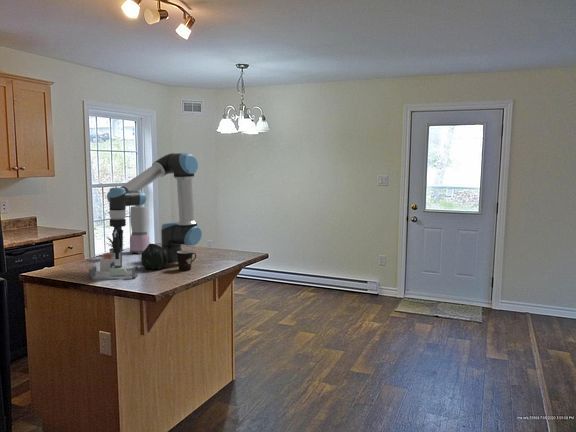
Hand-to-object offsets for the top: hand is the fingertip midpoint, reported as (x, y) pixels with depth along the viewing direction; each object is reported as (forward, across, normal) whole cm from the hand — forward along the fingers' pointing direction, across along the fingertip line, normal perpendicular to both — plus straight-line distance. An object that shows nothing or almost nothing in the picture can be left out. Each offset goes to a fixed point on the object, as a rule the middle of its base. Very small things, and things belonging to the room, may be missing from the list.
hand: (118, 264), depth 223 cm
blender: (+7, -72, -2) cm, 72 cm away
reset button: (0, -10, -8) cm, 13 cm away
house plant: (+7, -50, -14) cm, 52 cm away
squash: (+7, -21, +15) cm, 27 cm away
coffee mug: (+7, -17, +33) cm, 38 cm away
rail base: (+7, 0, -2) cm, 7 cm away
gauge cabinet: (+7, -10, -6) cm, 13 cm away
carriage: (+5, 0, 0) cm, 5 cm away
